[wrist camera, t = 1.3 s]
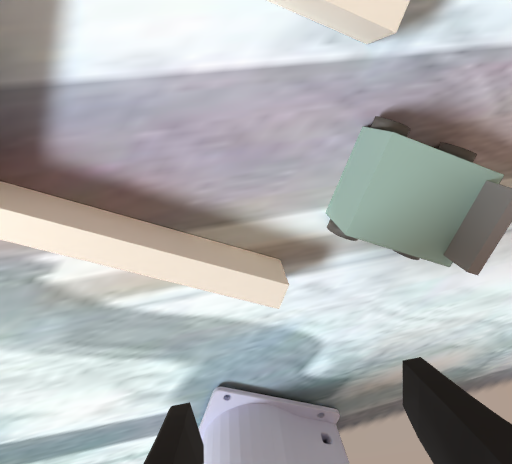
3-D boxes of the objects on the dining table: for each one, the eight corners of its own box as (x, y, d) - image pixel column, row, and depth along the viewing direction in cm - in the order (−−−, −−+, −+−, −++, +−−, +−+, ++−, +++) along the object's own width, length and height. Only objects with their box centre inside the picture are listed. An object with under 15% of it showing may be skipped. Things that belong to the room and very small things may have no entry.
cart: (461, 151, 19) (546, 170, 14) (409, 249, 21) (467, 295, 16) (367, 114, 18) (422, 120, 13) (321, 222, 20) (353, 262, 15)
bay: (380, 10, 16) (413, -10, 13) (271, 280, 21) (278, 308, 18) (-33, -182, 12) (-107, -263, 10) (-50, 195, 17) (-103, 213, 14)
